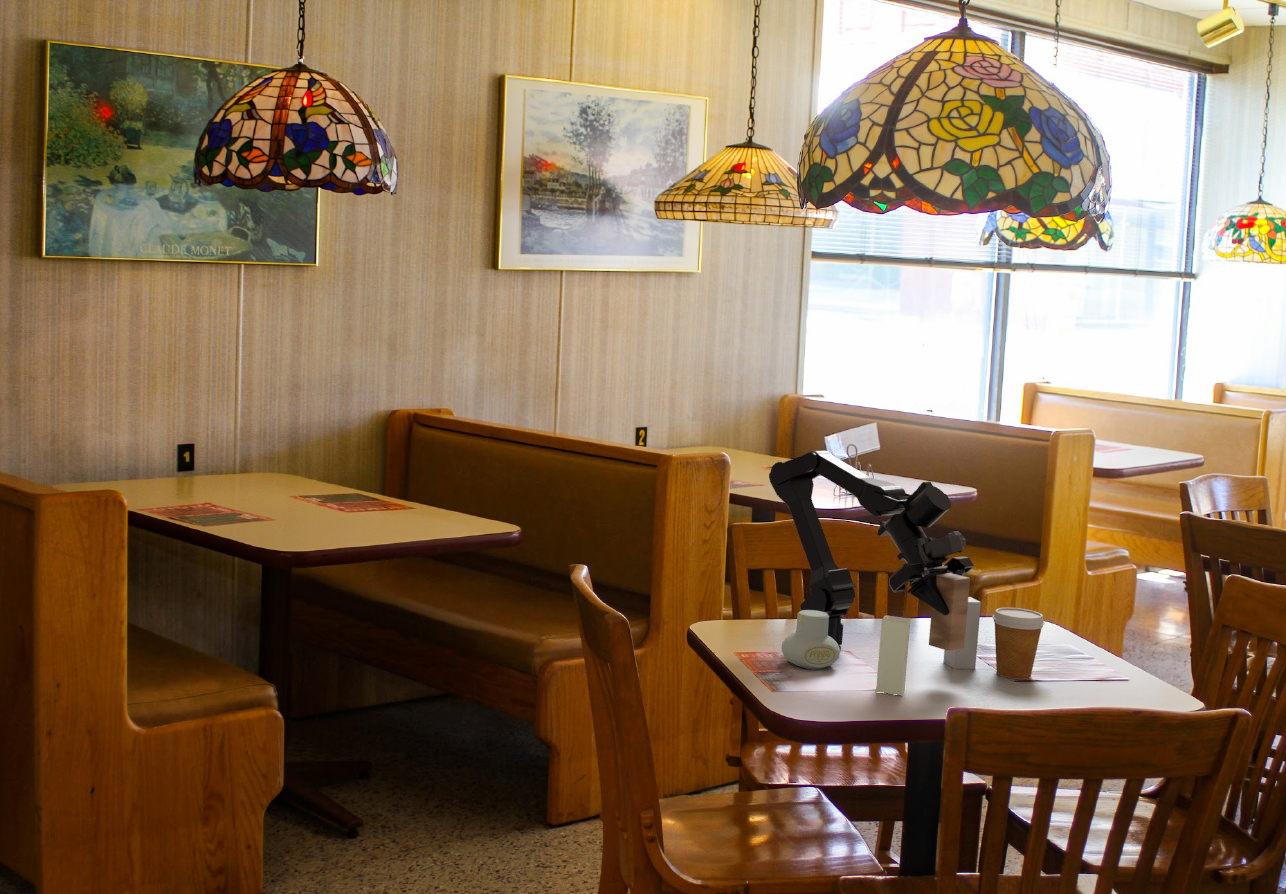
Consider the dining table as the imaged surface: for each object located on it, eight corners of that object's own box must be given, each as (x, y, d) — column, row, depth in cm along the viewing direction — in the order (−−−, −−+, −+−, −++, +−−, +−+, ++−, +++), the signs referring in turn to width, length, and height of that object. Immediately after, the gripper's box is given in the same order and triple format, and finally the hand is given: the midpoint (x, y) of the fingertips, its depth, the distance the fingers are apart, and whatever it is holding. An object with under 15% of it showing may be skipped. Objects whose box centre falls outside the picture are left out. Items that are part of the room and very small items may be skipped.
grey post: (953, 668, 242) (959, 602, 241) (943, 662, 247) (948, 596, 245) (975, 668, 243) (981, 602, 242) (964, 662, 248) (970, 596, 246)
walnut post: (928, 645, 231) (934, 575, 230) (943, 642, 234) (949, 573, 233) (948, 651, 228) (955, 580, 226) (964, 647, 231) (970, 577, 229)
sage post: (875, 692, 223) (881, 620, 222) (879, 686, 227) (884, 615, 226) (901, 696, 222) (907, 623, 220) (904, 689, 226) (910, 618, 225)
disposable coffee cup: (1040, 672, 243) (1045, 611, 242) (1038, 684, 234) (1044, 621, 233) (989, 665, 246) (994, 604, 245) (985, 677, 237) (991, 614, 236)
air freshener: (826, 658, 244) (830, 607, 243) (845, 670, 237) (849, 618, 236) (774, 659, 241) (777, 608, 240) (791, 672, 233) (795, 619, 232)
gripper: (907, 519, 225) (952, 593, 218) (970, 514, 237) (1015, 583, 230) (869, 555, 232) (912, 627, 225) (932, 547, 244) (975, 616, 237)
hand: (955, 612), depth 229 cm, fingers closed on walnut post, 4 cm apart
